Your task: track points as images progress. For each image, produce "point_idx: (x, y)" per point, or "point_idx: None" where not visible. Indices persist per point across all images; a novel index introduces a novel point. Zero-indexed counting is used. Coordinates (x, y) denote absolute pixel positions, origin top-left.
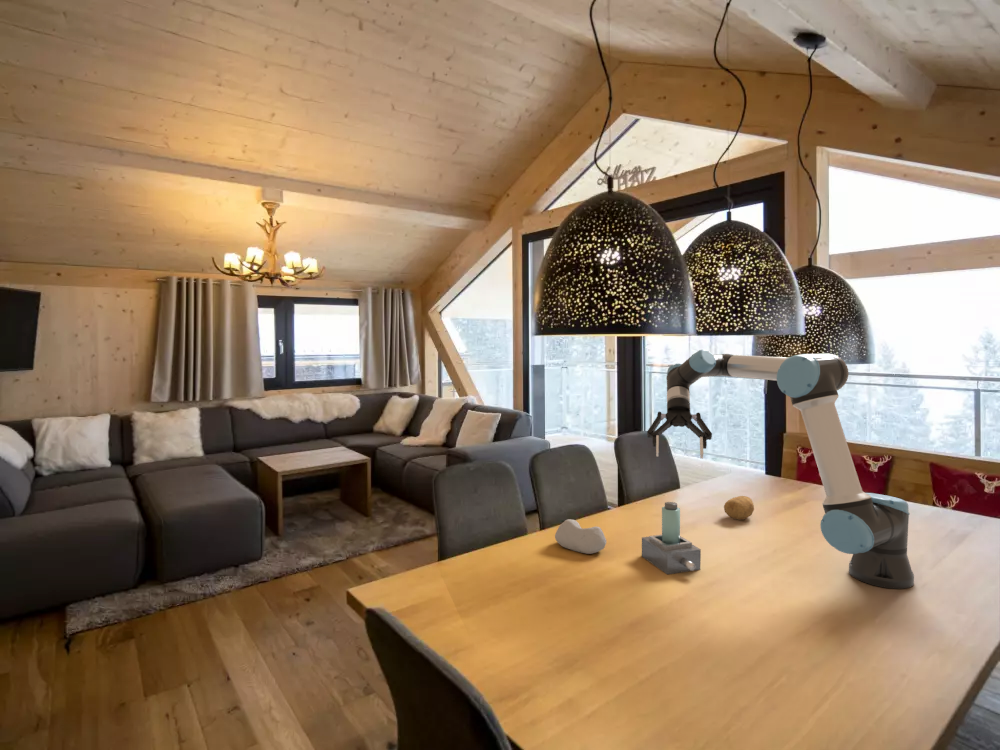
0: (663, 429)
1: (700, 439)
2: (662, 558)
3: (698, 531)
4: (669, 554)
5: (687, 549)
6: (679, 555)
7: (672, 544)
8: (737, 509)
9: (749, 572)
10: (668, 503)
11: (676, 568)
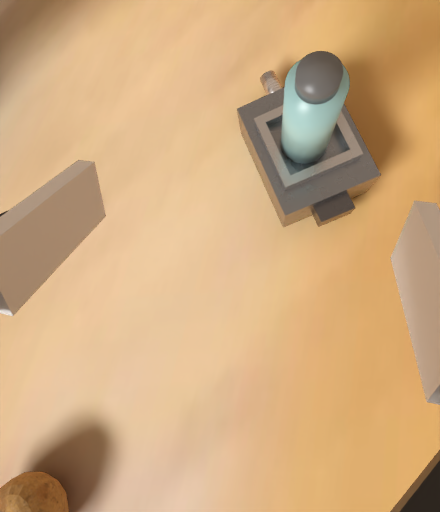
0: (413, 490)
1: (4, 230)
2: None
3: (183, 387)
4: None
5: (269, 103)
6: None
7: None
8: (34, 476)
9: (145, 132)
10: (328, 73)
11: None
